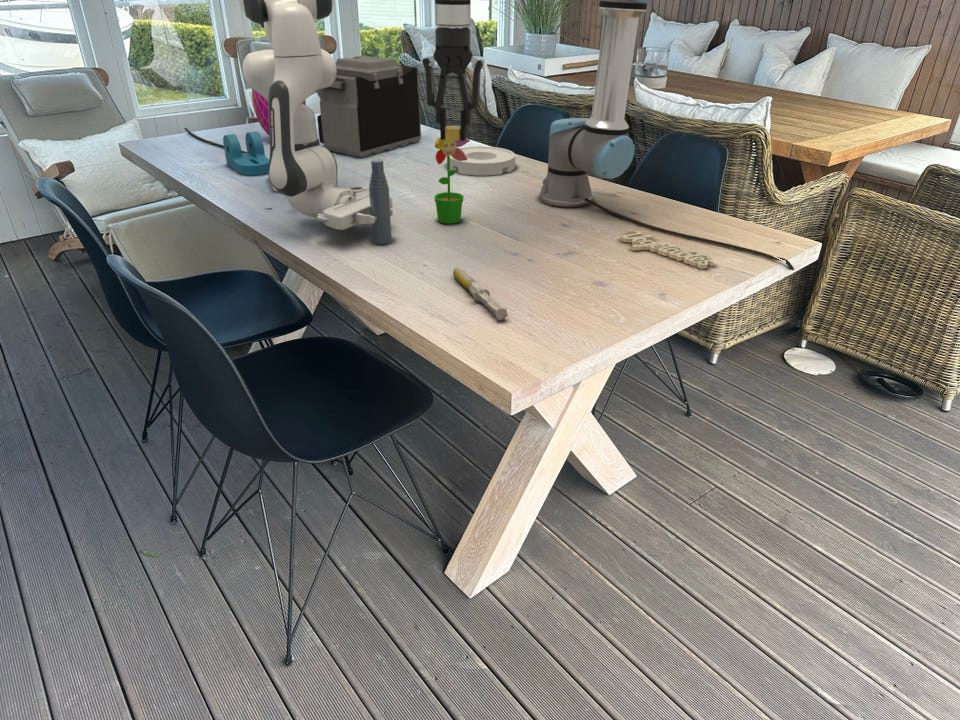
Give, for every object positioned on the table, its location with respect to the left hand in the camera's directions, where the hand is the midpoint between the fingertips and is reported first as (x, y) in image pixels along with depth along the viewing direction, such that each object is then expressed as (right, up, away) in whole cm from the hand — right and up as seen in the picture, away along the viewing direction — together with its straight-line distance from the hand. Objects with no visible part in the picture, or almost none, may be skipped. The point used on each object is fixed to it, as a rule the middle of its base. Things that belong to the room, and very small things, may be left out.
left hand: (383, 216), depth 169 cm
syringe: (+23, -22, -24) cm, 40 cm away
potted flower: (+16, +2, +18) cm, 24 cm away
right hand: (+18, +16, -11) cm, 26 cm away
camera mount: (-53, +29, +60) cm, 85 cm away
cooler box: (-17, +45, +89) cm, 102 cm away
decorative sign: (+69, -9, 0) cm, 69 cm away
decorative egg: (-52, +49, +96) cm, 120 cm away
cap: (+18, +18, -12) cm, 28 cm away
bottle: (-1, -6, +4) cm, 7 cm away
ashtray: (+24, +31, +66) cm, 77 cm away
